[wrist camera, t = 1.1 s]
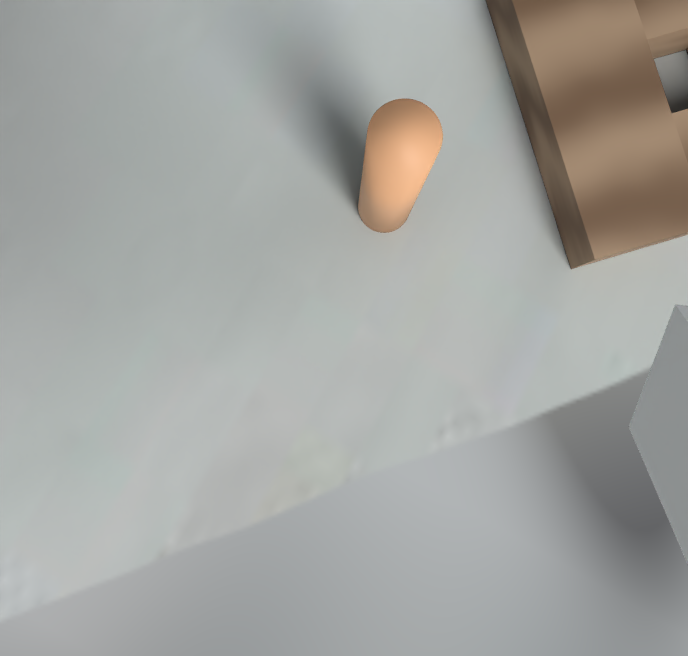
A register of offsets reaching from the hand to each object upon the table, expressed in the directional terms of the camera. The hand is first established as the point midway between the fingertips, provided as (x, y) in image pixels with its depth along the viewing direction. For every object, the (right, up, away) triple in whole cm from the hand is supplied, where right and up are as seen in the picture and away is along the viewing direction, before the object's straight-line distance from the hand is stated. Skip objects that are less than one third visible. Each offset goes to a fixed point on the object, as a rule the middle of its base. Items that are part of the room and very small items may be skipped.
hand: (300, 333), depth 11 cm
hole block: (+21, +15, +27) cm, 37 cm away
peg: (+3, +8, +26) cm, 27 cm away
